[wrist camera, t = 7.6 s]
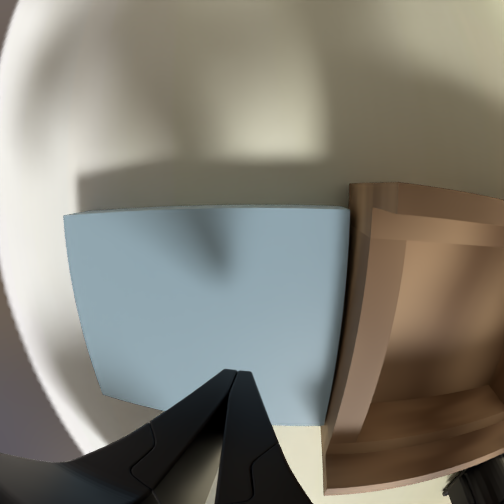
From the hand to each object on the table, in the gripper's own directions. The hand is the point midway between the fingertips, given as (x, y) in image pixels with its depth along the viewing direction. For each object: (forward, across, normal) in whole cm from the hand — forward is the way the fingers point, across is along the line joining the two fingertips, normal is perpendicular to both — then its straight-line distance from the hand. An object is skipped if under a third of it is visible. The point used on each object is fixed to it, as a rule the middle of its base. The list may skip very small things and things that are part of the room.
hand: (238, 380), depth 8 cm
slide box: (+5, -10, 0) cm, 11 cm away
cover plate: (+5, +3, 0) cm, 6 cm away
